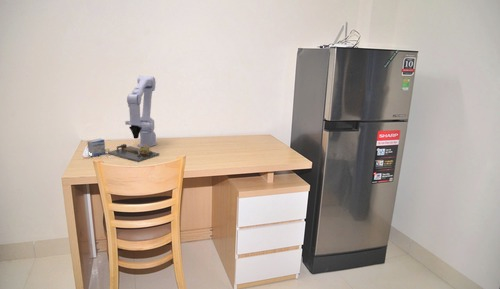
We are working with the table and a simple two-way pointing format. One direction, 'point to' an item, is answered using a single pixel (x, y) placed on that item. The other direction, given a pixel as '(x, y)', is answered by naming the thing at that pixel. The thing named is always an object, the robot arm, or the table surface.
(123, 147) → the beam
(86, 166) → the table surface
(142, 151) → the sliding head
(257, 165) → the table surface
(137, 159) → the dark grey flat plate
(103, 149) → the medicine box
